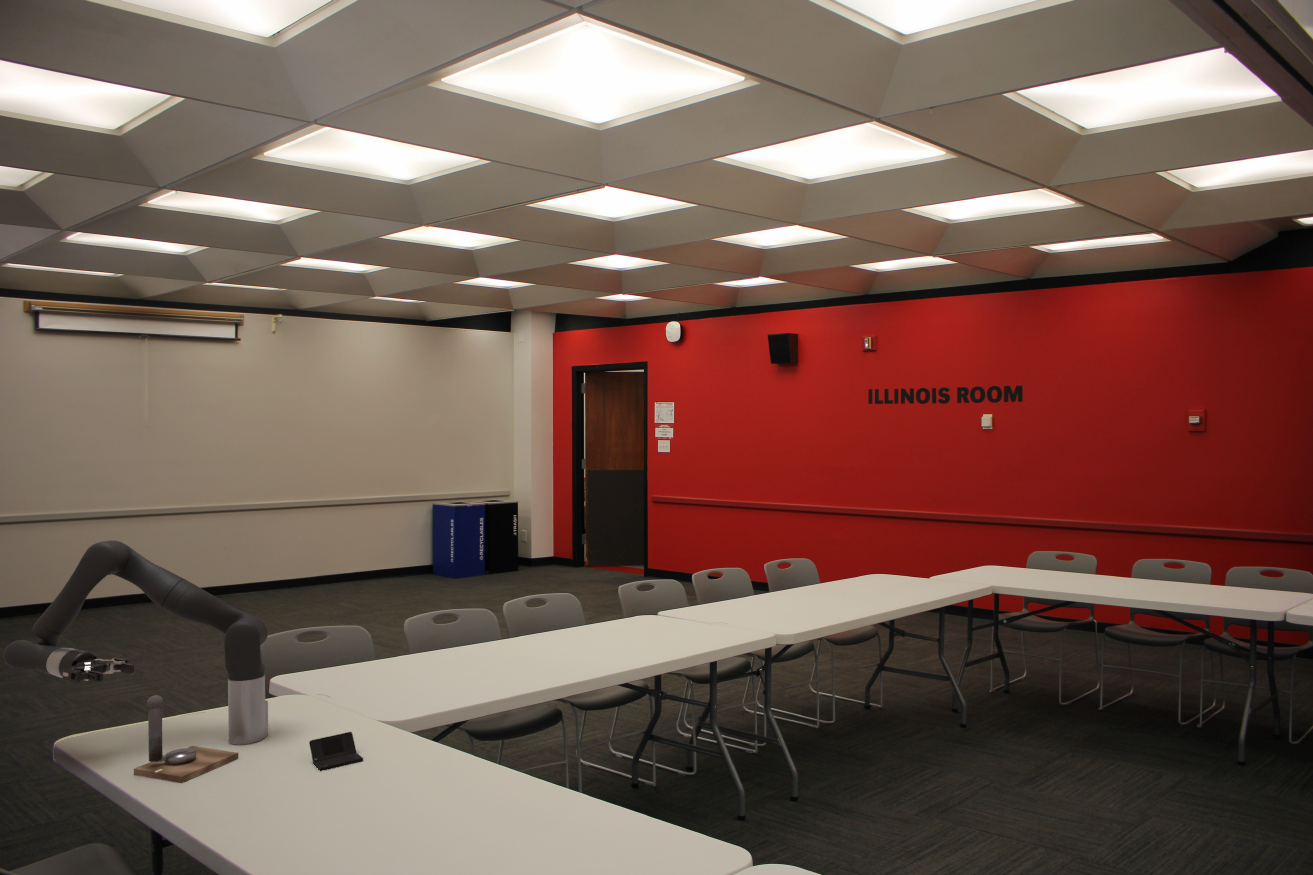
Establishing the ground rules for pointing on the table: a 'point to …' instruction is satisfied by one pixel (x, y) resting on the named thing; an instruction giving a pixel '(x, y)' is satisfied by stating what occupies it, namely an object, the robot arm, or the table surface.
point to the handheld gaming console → (334, 751)
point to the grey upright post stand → (156, 737)
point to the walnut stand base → (187, 765)
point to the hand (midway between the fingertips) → (117, 673)
